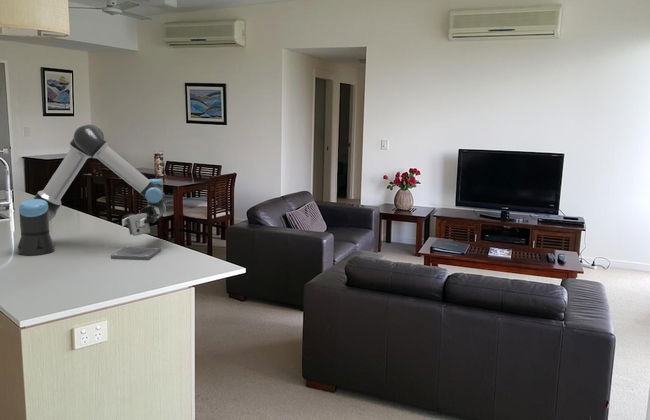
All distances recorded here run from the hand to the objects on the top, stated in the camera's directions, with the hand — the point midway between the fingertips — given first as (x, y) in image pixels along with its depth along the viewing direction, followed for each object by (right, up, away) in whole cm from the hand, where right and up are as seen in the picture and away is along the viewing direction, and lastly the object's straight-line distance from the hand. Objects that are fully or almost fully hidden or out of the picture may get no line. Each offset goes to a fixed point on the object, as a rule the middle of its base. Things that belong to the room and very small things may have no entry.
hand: (131, 223), depth 248 cm
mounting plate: (0, -15, +8) cm, 17 cm away
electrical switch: (+1, -5, +6) cm, 8 cm away
